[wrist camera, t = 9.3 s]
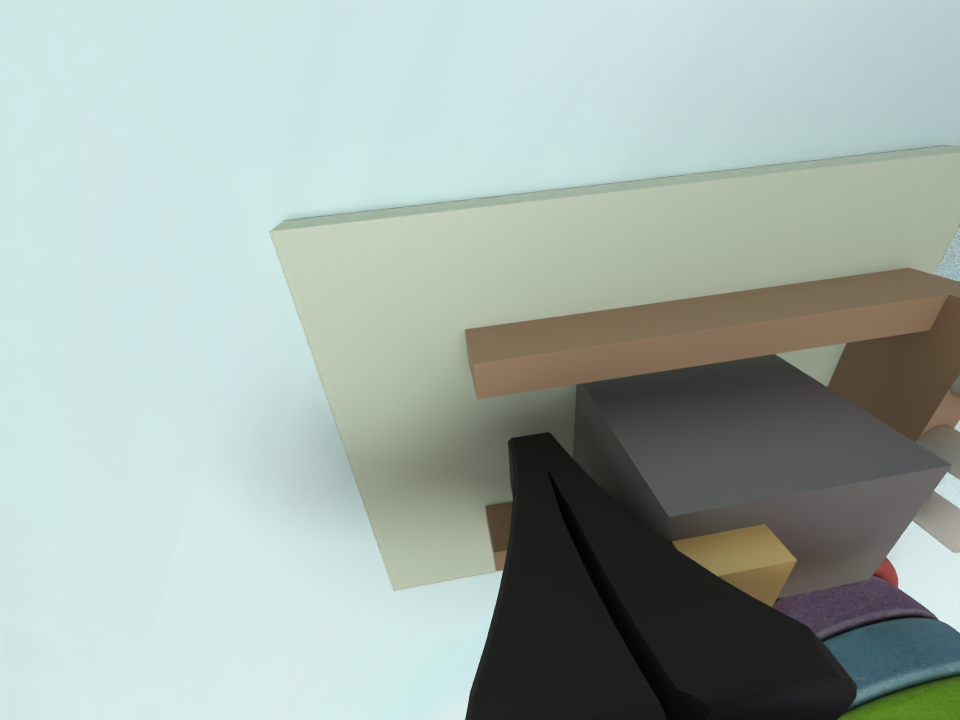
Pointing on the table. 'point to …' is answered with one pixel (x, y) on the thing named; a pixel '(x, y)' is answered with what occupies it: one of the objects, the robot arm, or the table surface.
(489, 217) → the board
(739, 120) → the table surface
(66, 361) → the table surface
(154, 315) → the table surface
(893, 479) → the plug block
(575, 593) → the robot arm
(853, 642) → the stacking bear
